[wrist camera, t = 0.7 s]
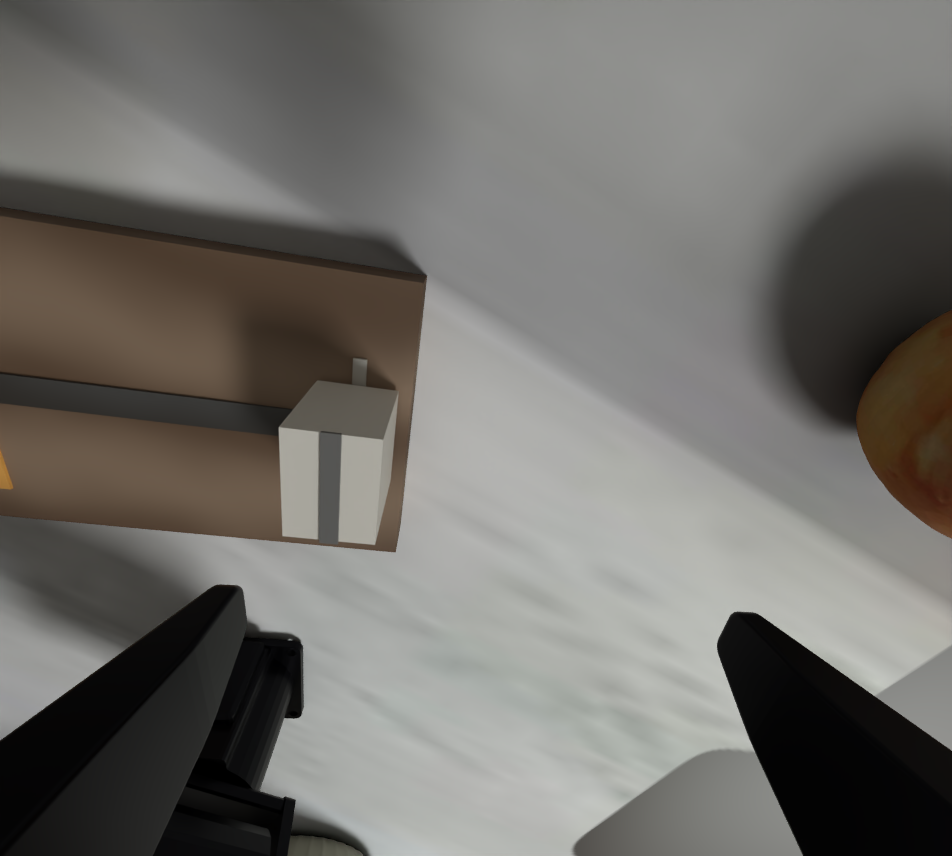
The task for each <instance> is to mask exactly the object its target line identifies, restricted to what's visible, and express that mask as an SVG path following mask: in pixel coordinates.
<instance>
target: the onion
mask: <svg viewBox="0 0 952 856" xmlns="http://www.w3.org/2000/svg"><path fill="white" fill-rule="evenodd" d="M856 423H857V432H858V436H859V440H860V443H861V446H862V449H863V451H864V454H865V456H866V458H867V460H868V462H869V464H870V466H871V468H872V470H873V471H874V472H875V474H876V475H877V477H878V478H879V479H880V481H881V482H882V483H883V484H884V486H885V487H886V488H887V490H888V491H889V492H890V493H891V495H892V496H893V497H894V498H895V499H897V500H898V501H899V502H900V503H901V504H902V505H903V506H904V507H905V508H906V509H908V510H909V511H910V512H911V513H912V514H914V515H915V516H916V517H917V518H919V519H920V520H921V521H922V522H924V523H925V524H927V525H928V526H930V527H931V528H932V529H934V530H936V531H938V532H939V533H941V534H943V535H945V536H947V537H950V538H952V310H950V311H948V312H946V313H944V314H942V315H941V316H939V317H937V318H935V319H933V320H932V321H930V322H929V323H927V324H926V325H924V326H923V327H922V328H920V329H919V330H917V331H916V332H915V333H913V334H912V335H911V336H910V337H909V338H907V339H906V340H905V341H904V342H902V343H901V344H900V345H899V346H897V347H896V348H895V349H894V350H893V351H892V352H890V353H889V355H888V356H887V358H886V359H885V361H884V362H883V363H882V365H881V367H880V368H879V369H878V370H877V371H876V373H875V374H874V375H873V376H872V378H871V380H870V381H869V383H868V385H867V386H866V387H865V390H864V392H863V394H862V397H861V399H860V402H859V406H858V410H857V415H856Z"/></svg>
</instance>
